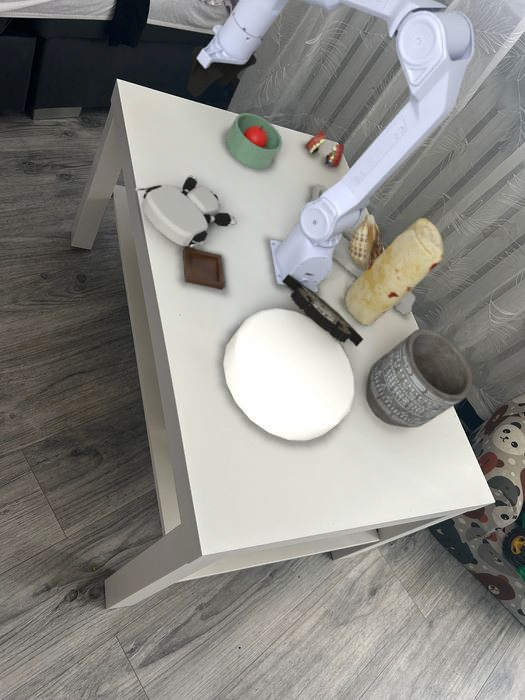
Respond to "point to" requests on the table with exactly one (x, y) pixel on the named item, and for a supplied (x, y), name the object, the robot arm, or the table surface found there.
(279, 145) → the bowl
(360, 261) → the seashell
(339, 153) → the dentures model
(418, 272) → the food model
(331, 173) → the table surface
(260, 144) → the apple
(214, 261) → the coaster
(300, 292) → the emblem
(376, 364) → the planter
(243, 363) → the container
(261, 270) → the table surface
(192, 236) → the robot toy
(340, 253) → the toy gun
